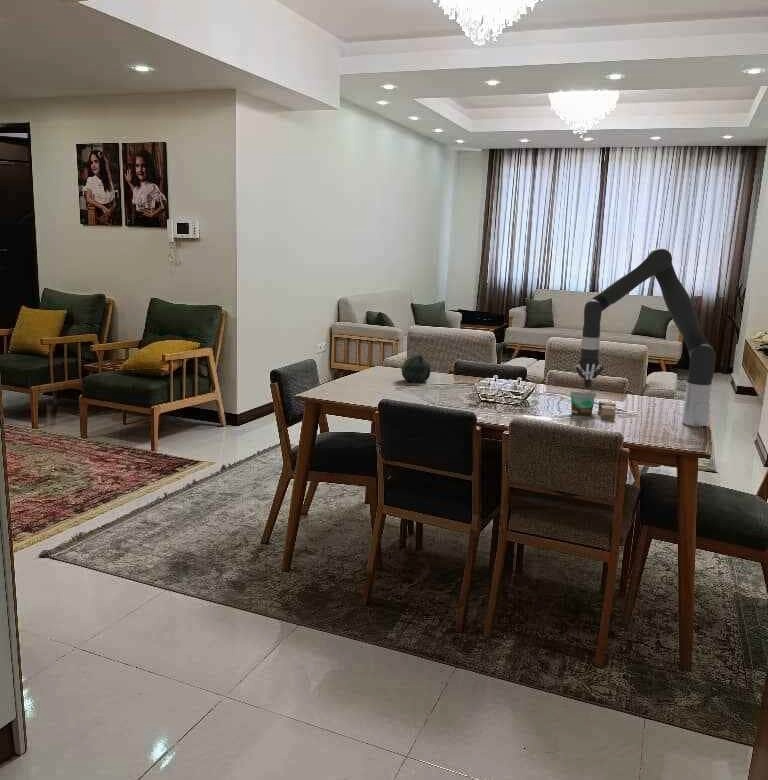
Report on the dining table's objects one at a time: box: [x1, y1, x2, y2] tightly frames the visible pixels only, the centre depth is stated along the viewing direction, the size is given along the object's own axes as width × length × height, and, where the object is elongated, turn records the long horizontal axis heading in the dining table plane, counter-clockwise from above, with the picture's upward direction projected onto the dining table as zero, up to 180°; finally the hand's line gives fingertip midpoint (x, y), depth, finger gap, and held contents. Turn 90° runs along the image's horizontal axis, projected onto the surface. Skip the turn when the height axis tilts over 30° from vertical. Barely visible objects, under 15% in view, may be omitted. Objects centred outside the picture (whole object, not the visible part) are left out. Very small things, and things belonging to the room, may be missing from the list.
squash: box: [401, 354, 432, 383], centre depth 365 cm, size 14×15×15 cm
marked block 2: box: [599, 405, 616, 421], centre depth 296 cm, size 5×5×5 cm
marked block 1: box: [597, 400, 617, 414], centre depth 304 cm, size 5×5×5 cm
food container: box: [569, 389, 597, 417], centre depth 302 cm, size 12×6×10 cm, turn 114°
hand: (587, 387), depth 301 cm, fingers closed
